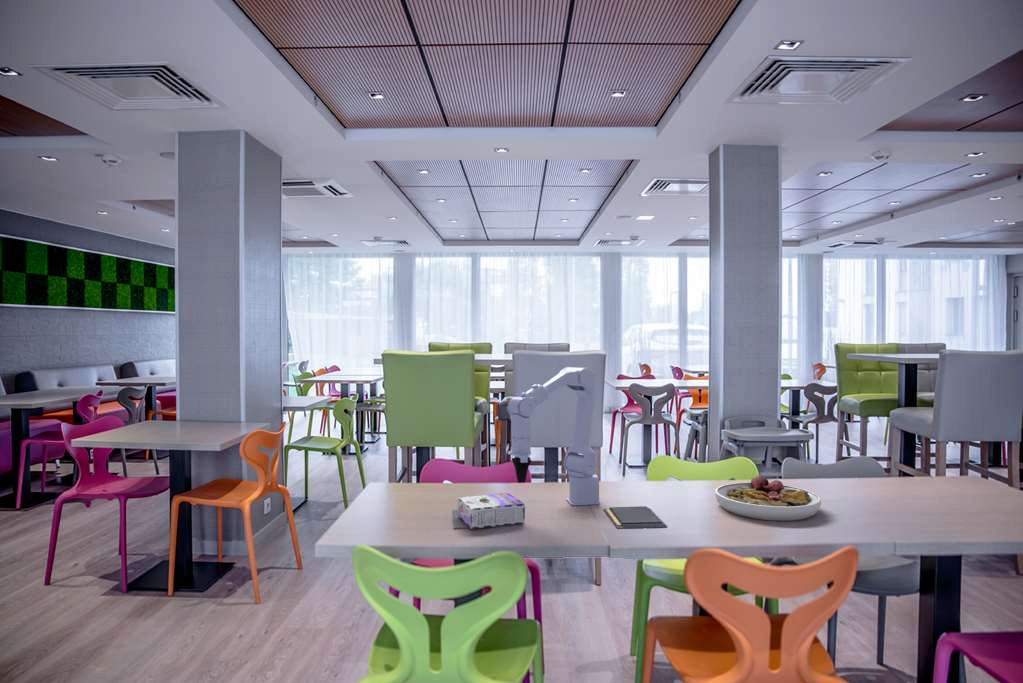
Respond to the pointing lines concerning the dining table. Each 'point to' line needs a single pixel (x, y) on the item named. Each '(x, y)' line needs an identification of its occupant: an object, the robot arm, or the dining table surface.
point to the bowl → (768, 500)
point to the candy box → (491, 510)
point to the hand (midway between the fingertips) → (521, 482)
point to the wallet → (634, 518)
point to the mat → (461, 524)
